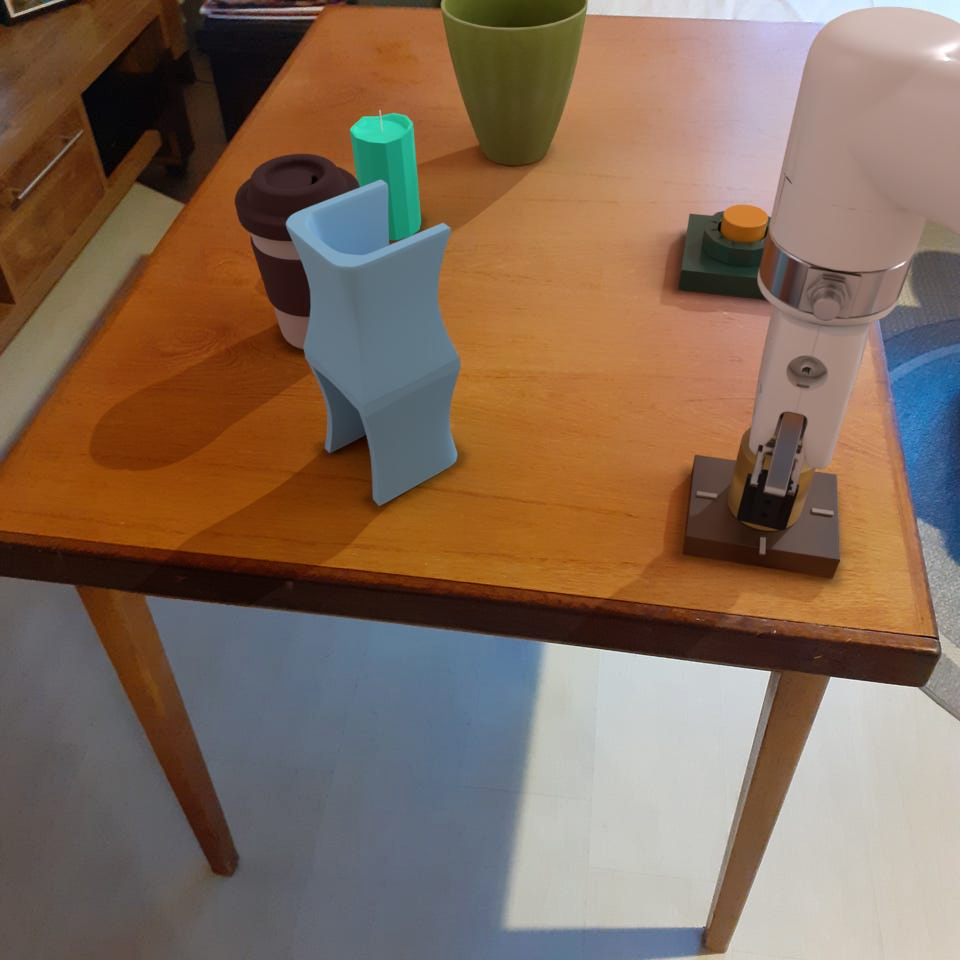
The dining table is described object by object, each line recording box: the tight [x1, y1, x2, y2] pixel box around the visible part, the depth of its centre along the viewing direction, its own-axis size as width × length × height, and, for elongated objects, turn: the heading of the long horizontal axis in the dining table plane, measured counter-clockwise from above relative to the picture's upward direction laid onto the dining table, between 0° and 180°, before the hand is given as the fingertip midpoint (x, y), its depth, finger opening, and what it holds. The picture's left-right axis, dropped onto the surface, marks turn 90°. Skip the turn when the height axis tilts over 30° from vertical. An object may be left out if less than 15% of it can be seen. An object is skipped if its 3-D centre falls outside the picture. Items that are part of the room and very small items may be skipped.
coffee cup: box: [234, 153, 360, 351], centre depth 77 cm, size 10×10×15 cm
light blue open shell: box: [286, 180, 461, 507], centre depth 64 cm, size 8×8×20 cm
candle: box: [349, 109, 422, 242], centre depth 90 cm, size 6×6×12 cm
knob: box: [727, 426, 817, 531], centre depth 62 cm, size 5×5×6 cm
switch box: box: [677, 210, 771, 301], centre depth 86 cm, size 10×10×4 cm
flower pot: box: [440, 0, 589, 166], centre depth 99 cm, size 15×15×16 cm
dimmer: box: [682, 454, 841, 579], centre depth 64 cm, size 10×9×2 cm
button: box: [720, 204, 769, 243], centre depth 84 cm, size 4×4×2 cm
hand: (767, 490), depth 63 cm, fingers closed on knob, 5 cm apart
